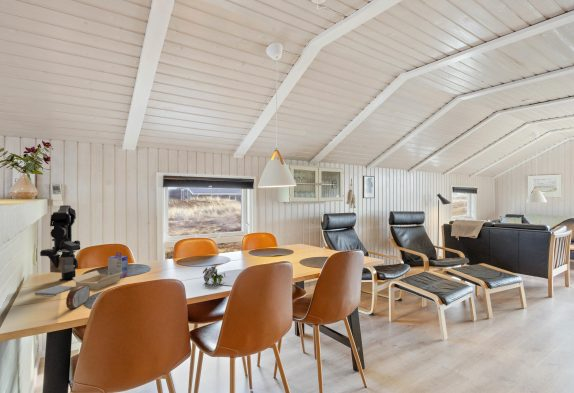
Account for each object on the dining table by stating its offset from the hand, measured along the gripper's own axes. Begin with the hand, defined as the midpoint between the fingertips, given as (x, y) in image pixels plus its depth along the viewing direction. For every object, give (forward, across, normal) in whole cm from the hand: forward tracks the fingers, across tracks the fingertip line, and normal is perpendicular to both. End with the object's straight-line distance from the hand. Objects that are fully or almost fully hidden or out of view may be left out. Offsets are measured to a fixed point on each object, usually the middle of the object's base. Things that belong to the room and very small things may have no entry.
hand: (61, 266), depth 166 cm
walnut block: (+2, 0, 0) cm, 3 cm away
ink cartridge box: (+13, +28, -11) cm, 32 cm away
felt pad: (+12, -2, +2) cm, 13 cm away
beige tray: (+12, +12, -12) cm, 21 cm away
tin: (+13, -18, -27) cm, 34 cm away
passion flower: (+13, +24, -73) cm, 78 cm away
